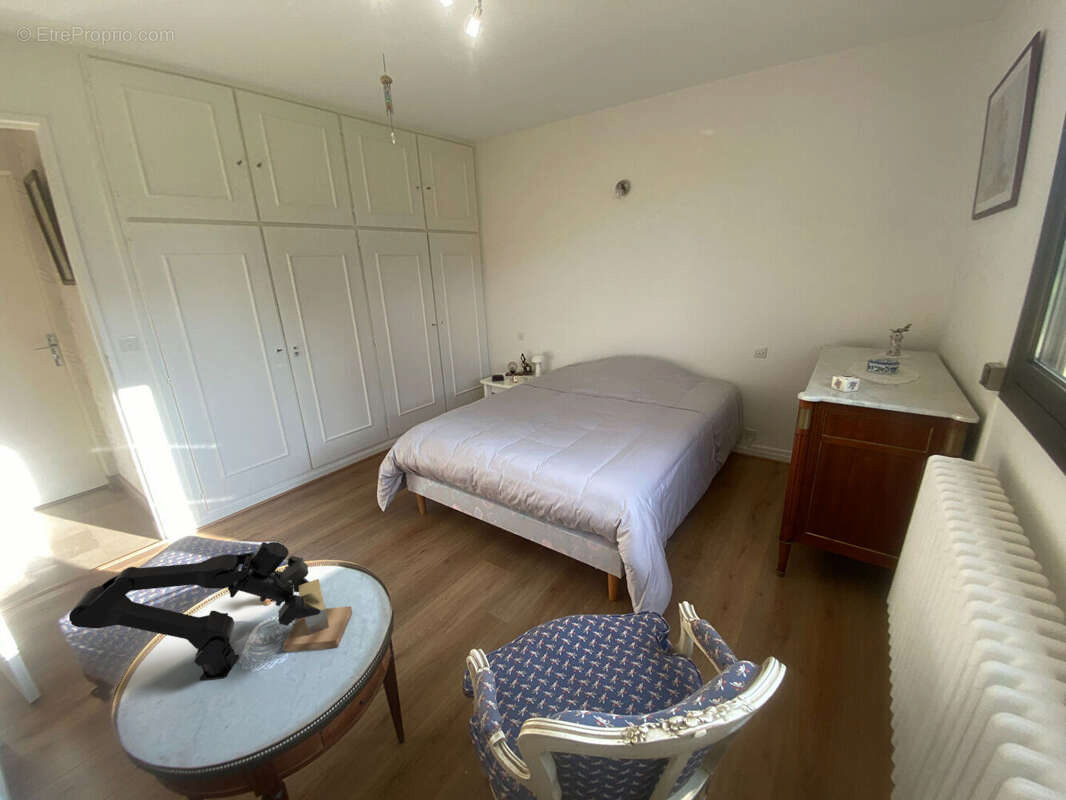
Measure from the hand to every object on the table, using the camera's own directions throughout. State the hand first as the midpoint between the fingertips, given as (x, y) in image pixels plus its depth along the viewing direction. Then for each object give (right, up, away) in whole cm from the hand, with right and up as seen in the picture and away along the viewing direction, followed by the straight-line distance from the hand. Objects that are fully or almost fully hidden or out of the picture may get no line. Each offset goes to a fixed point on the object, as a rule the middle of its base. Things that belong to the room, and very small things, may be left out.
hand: (318, 601), depth 119 cm
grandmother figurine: (-23, -7, +15) cm, 28 cm away
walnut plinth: (-1, -10, +3) cm, 10 cm away
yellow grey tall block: (-1, -7, +2) cm, 8 cm away
